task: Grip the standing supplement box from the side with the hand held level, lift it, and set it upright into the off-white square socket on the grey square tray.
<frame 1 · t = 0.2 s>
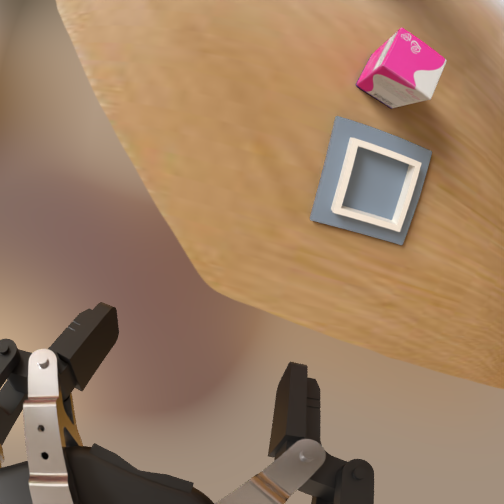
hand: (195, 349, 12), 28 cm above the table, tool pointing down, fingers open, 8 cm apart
supplement box: (381, 80, 29), on the table
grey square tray: (372, 182, 34), on the table
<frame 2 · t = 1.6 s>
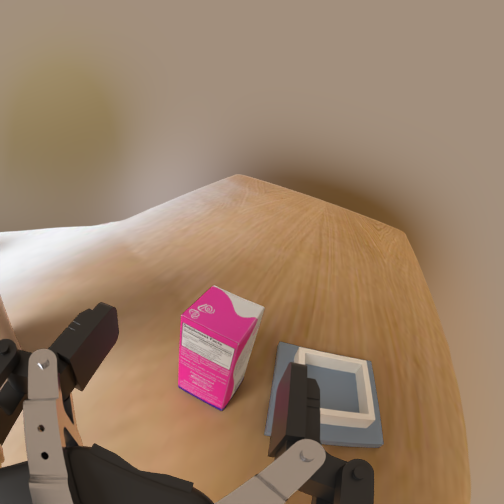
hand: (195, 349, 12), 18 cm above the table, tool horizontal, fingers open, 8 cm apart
supplement box: (210, 384, 30), on the table
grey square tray: (326, 396, 31), on the table
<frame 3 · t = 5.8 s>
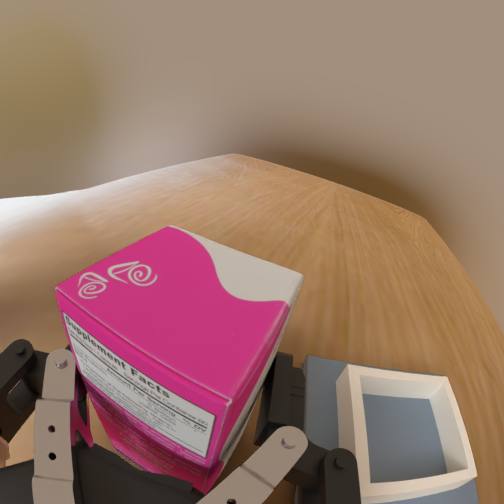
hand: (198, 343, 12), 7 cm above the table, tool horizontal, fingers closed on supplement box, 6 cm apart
supplement box: (178, 442, 13), on the table, touching gripper
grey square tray: (392, 446, 14), on the table
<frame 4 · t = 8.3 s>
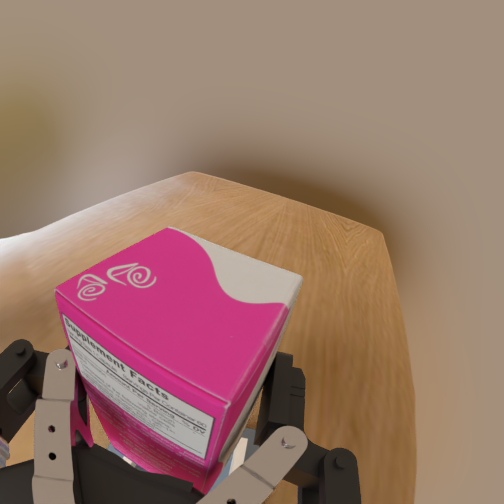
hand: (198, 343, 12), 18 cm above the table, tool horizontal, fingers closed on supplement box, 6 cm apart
supplement box: (178, 443, 13), point 11 cm above the table, touching gripper
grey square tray: (181, 477, 19), on the table
when the fingers open (9 cm above the table, at t = 10.7 s): supplement box drops 1 cm, resting on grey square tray.
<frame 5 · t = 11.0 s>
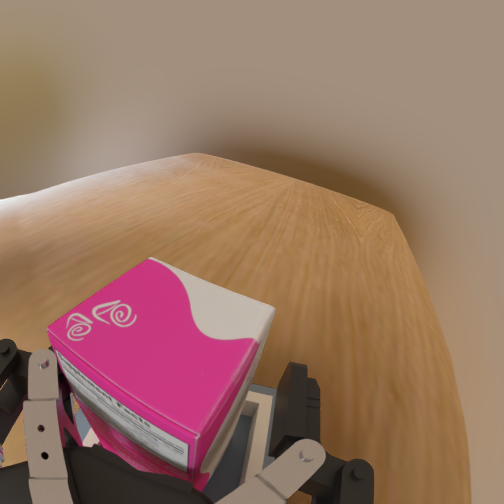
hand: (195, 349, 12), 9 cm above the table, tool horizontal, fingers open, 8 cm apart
supplement box: (170, 451, 13), point 1 cm above the table, touching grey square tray
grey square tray: (178, 454, 14), on the table
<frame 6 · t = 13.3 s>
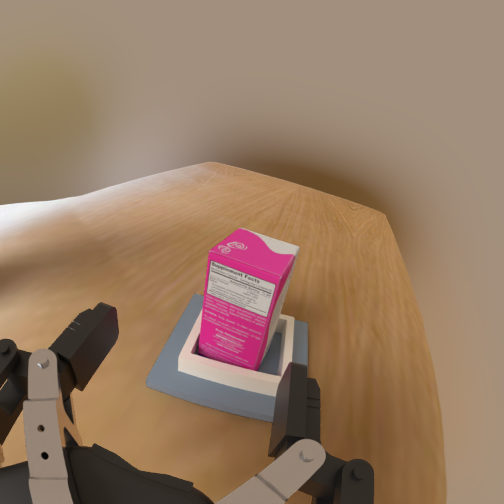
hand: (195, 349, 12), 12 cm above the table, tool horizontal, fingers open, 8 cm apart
supplement box: (234, 351, 27), point 1 cm above the table, touching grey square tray
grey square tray: (238, 356, 28), on the table
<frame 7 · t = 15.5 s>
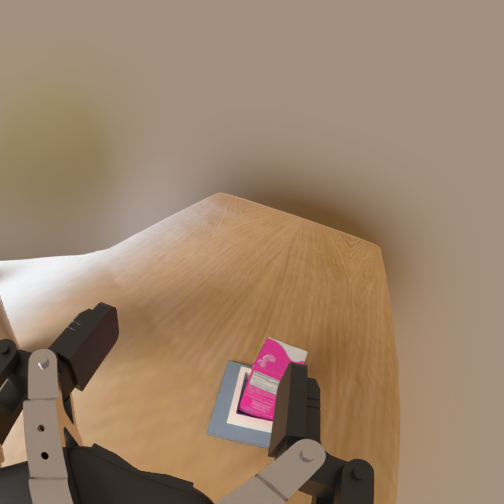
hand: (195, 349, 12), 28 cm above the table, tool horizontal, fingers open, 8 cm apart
supplement box: (260, 405, 38), point 1 cm above the table, touching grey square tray
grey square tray: (262, 407, 38), on the table
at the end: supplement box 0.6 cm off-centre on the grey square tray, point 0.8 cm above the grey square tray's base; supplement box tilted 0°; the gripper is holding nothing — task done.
